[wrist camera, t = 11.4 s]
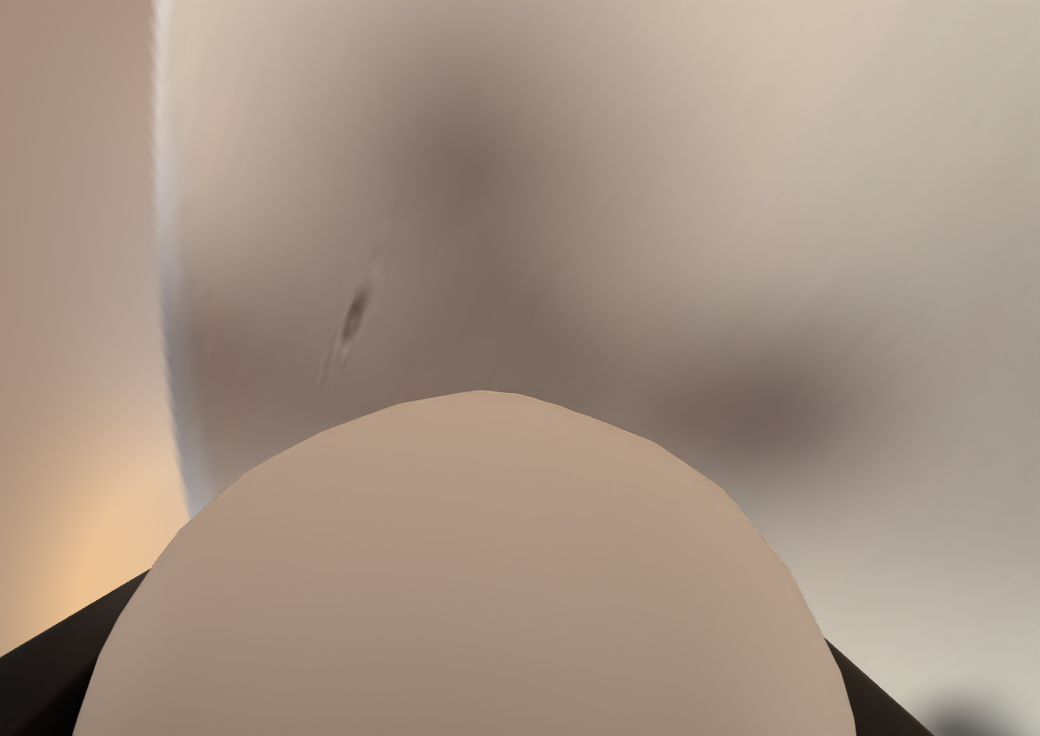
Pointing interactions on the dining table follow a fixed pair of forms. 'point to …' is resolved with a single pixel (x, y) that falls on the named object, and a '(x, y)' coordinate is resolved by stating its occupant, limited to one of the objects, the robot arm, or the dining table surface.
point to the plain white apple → (468, 594)
